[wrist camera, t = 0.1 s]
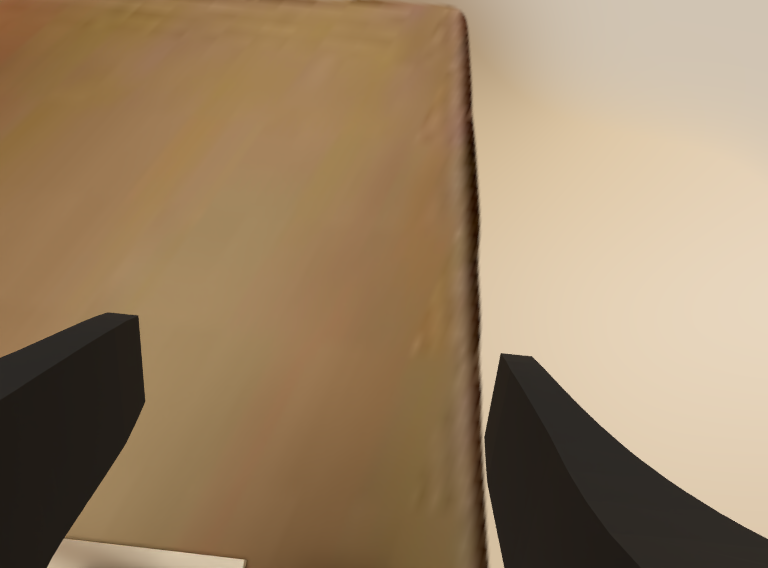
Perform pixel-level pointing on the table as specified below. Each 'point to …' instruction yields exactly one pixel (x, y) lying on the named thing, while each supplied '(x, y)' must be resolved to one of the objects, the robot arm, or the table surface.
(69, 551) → the base board
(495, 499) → the robot arm
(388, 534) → the table surface
